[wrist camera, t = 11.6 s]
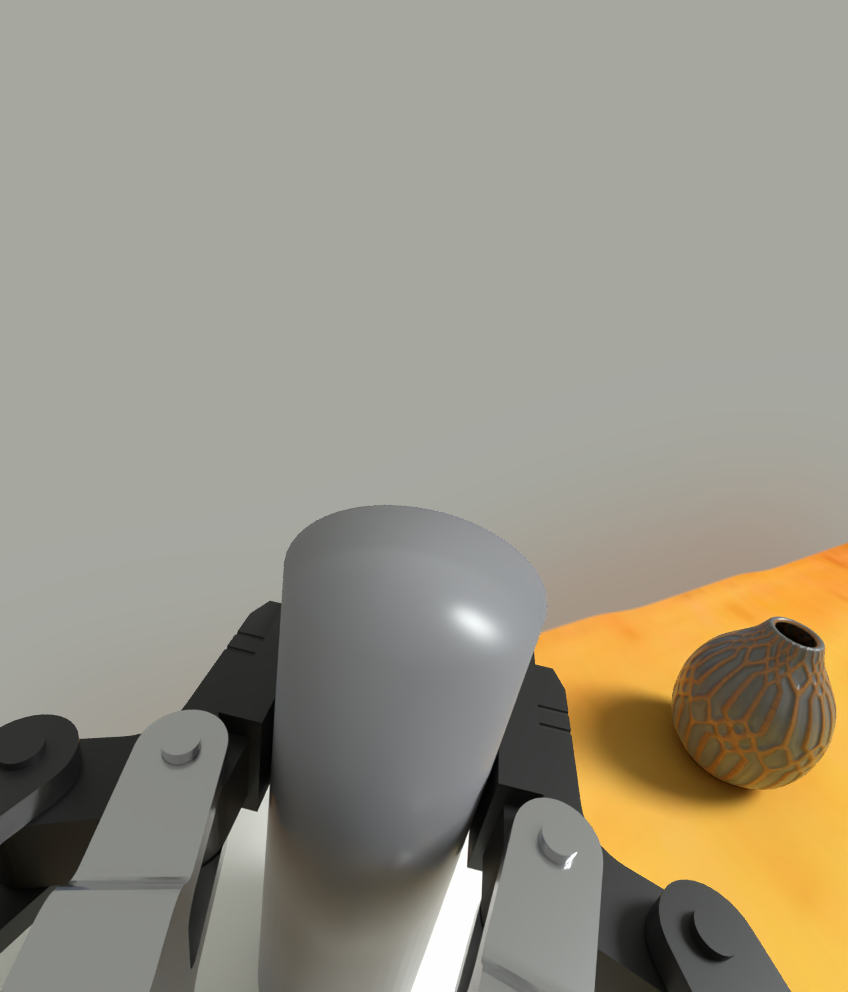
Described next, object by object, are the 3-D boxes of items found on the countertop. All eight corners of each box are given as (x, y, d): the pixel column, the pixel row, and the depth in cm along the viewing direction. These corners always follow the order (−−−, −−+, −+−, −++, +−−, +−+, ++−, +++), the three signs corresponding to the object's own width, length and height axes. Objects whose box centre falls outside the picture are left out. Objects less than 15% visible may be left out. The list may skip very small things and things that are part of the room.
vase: (629, 708, 30) (690, 590, 26) (717, 695, 33) (785, 584, 29) (719, 826, 25) (813, 698, 21) (818, 800, 27) (919, 680, 23)
